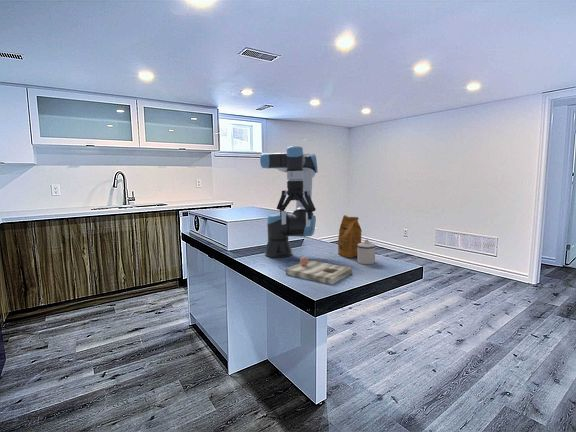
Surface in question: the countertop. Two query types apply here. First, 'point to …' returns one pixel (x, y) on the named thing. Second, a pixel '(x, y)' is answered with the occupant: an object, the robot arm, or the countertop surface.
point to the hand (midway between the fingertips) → (295, 225)
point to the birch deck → (319, 272)
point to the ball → (303, 261)
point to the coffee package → (349, 237)
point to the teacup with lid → (366, 252)
